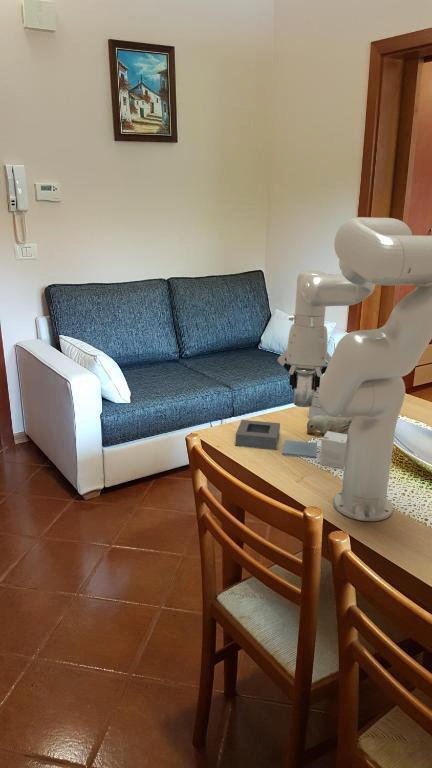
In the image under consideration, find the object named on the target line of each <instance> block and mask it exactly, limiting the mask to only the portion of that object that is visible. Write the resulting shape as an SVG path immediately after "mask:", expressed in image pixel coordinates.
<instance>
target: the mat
mask: <svg viewBox="0 0 432 768" xmlns="http://www.w3.org/2000/svg"><path fill="white" fill-rule="evenodd" d="M317 451H318V442H313V441H299V440H289V439H284V442H283V447H282V453H281V455H283V456H288V457H289V456H290V457H298V458H299V457H301V458H309V459H310V458H311V459H317V455H318V452H317Z"/></svg>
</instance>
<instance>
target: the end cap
mask: <svg viewBox="0 0 432 768" xmlns="http://www.w3.org/2000/svg"><path fill="white" fill-rule="evenodd" d="M294 372H295V373H296V376H295V388H294V389H293V390H294V391H293V405H295V406H296V407H299V408H309V407H310V406H312V405H313V393H314V381H315V374H316V368H315V367H313V366H300V365H297V366H296V368H295V371H294Z"/></svg>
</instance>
